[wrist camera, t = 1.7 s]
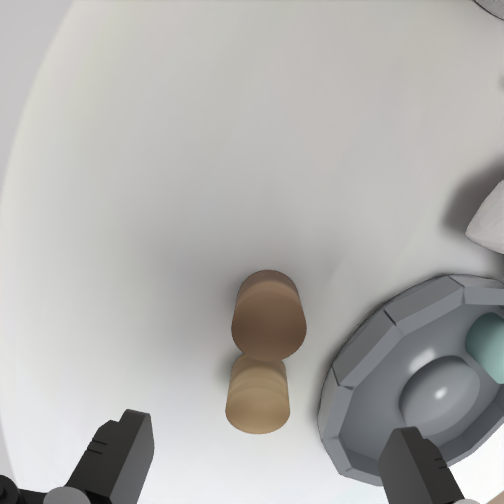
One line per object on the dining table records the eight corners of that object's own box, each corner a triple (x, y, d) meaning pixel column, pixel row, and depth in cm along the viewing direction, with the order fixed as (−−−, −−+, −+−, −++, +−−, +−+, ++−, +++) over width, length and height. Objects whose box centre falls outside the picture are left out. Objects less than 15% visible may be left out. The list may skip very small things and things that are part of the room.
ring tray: (349, 262, 21) (363, 278, 17) (540, 281, 20) (561, 292, 17) (299, 466, 25) (302, 491, 22) (467, 447, 25) (478, 465, 22)
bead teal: (474, 311, 20) (506, 336, 16) (506, 312, 20) (537, 334, 16) (459, 356, 21) (485, 386, 17) (491, 354, 21) (518, 380, 17)
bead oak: (233, 348, 22) (227, 385, 18) (289, 353, 22) (294, 391, 18) (229, 391, 23) (224, 430, 19) (281, 395, 23) (284, 435, 19)
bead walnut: (240, 267, 21) (234, 291, 17) (302, 273, 21) (311, 298, 17) (235, 323, 22) (228, 357, 18) (293, 328, 22) (300, 364, 17)
